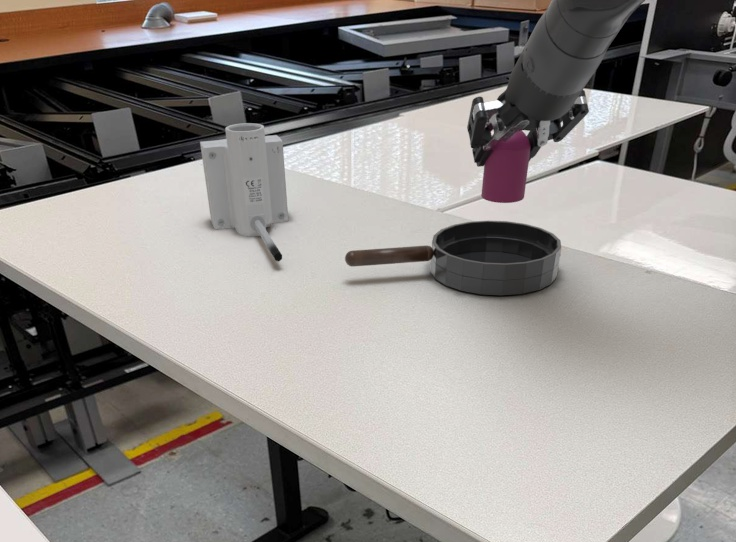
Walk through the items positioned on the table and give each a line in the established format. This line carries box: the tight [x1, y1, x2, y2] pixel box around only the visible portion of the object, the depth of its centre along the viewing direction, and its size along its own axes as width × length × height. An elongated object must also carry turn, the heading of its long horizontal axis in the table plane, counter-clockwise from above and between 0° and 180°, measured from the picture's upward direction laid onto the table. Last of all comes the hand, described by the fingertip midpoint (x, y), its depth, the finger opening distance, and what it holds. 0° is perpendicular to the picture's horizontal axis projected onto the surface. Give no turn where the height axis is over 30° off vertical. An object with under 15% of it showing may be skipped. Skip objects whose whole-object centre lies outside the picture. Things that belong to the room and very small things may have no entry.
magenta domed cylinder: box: [481, 127, 531, 204], centre depth 89 cm, size 5×5×8 cm
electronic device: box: [199, 122, 289, 262], centre depth 105 cm, size 12×26×15 cm, turn 17°
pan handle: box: [344, 245, 434, 268], centre depth 95 cm, size 12×2×2 cm, turn 98°
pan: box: [429, 220, 562, 296], centre depth 97 cm, size 17×17×4 cm
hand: (500, 157), depth 90 cm, fingers closed on magenta domed cylinder, 5 cm apart
